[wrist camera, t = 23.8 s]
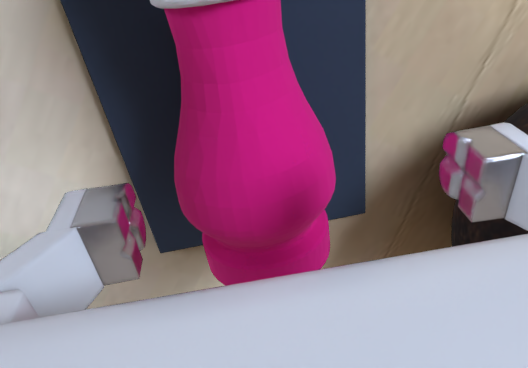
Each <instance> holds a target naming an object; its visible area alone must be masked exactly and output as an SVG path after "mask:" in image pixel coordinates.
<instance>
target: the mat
mask: <svg viewBox="0 0 528 368" xmlns="http://www.w3.org/2000/svg"><path fill="white" fill-rule="evenodd" d="M61 3H62V5H63V8H64V11H65V13H66V16H67V18H68V21H69V23H70V26H71V28H72V31H73V33H74V36H75V38H76V41H77V43H78V46H79V48H80V51H81V53H82V56H83V59H84V61H85V64H86V66H87V69H88V71H89V74H90V76H91V79H92V81H93V84H94V86H95V89H96V91H97V94H98V96H99V99H100V101H101V104H102V107H103V109H104V112H105V114H106V117H107V119H108V122H109V124H110V127H111V129H112V132H113V134H114V137H115V139H116V142H117V144H118V147H119V150H120V152H121V155H122V157H123V160H124V162H125V165H126V167H127V170H128V172H129V175H130V177H131V180H132V182H133V185H134V187H135V190H136V192H137V195H138V198H139V200H140V203H141V205H142V208H143V210H144V213H145V215H146V218H147V220H148V223H149V225H150V228H151V230H152V233H153V235H154V238H155V241H156V243H157V246H158V248H159V251H160V253H164V252H169V251H175V250H180V249H185V248H190V247H195V246H200V245H203V242H202V233H203V232H201V231H200V230H198V229H197V228H196V227H194V226H193V225H192V224H191V223H190V222H189V221H188V219H187V218H186V217H185V215H184V214H183V212H182V210H181V207H180V204H179V201H178V196H177V191H176V187H175V182H174V155H175V148H176V141H177V135H178V128H179V120H180V110H181V75H180V69H179V63H178V57H177V51H176V44H175V41H174V38H173V35H172V32H171V29H170V26H169V23H168V20H167V17H166V14H165V11H164V9H162V8H157V7H155V6H153V5H152V4H151V3H150V0H61ZM281 15H282V28H283V32H284V37H285V42H286V47H287V51H288V56H289V60H290V62H291V65H292V68H293V71H294V73H295V76H296V79H297V82H298V84H299V86H300V88H301V90H302V92H303V94H304V96H305V98H306V100H307V102H308V103H309V105H310V107H311V108H312V110H313V112H314V114H315V115H316V117H317V119H318V121H319V122H320V124H321V126H322V128H323V129H324V132H325V135H326V137H327V140H328V143H329V145H330V148H331V151H332V155H333V161H334V167H335V174H336V183H335V190H334V193H333V195H332V198H331V200H330V201H329V203H328V205H327V207H326V208H325V209H324V210H325V211H326V214H327V217H328V220H332V219H337V218H342V217H348V216H353V215H358V214H363V213H365V0H281Z"/></svg>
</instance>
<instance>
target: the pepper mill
mask: <svg viewBox="0 0 528 368" xmlns="http://www.w3.org/2000/svg"><path fill="white" fill-rule="evenodd" d="M150 3H151V4H152V5H153V6H155V7H157V8H162V9H164V11H165V14H166V17H167V20H168V23H169V26H170V29H171V32H172V35H173V38H174V41H175V44H176V51H177V57H178V63H179V69H180V75H181V110H180V120H179V128H178V135H177V141H176V148H175V155H174V182H175V187H176V191H177V196H178V201H179V204H180V207H181V210H182V212H183V214H184V215H185V217H186V218H187V219H188V221H189V222H190V223H191V224H192V225H193V226H194V227H196V228H197V229H198V230H200V231H201V232H203V233H202V242H203V246H204V249H205V253H206V256H207V260H208V263H209V266H210V269H211V271H212V273H213V275H214V276H215V277H216V278H217V279H218V280H219V281H220V282H221V283H223V284H224V285H225V286H227V285H232V284H238V283H244V282H250V281H256V280H261V279H267V278H273V277H279V276H285V275H291V274H296V273H302V272H308V271H314V270H320V269H321V268H322V266H323V265H324V264H325V262H326V260H327V258H328V256H329V252H330V236H329V224H328V217H327V214H326V211H325V210H324V209H325V208H326V207H327V205H328V203H329V201H330V200H331V198H332V195H333V193H334V190H335V183H336V174H335V167H334V161H333V155H332V151H331V148H330V145H329V143H328V140H327V137H326V135H325V132H324V129H323V128H322V126H321V124H320V122H319V121H318V119H317V117H316V115H315V114H314V112H313V110H312V108H311V107H310V105H309V103H308V102H307V100H306V98H305V96H304V94H303V92H302V90H301V88H300V86H299V84H298V82H297V79H296V76H295V73H294V71H293V68H292V65H291V62H290V60H289V56H288V51H287V47H286V42H285V37H284V32H283V28H282V15H281V0H150Z"/></svg>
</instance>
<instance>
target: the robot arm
mask: <svg viewBox="0 0 528 368" xmlns="http://www.w3.org/2000/svg"><path fill="white" fill-rule="evenodd" d="M442 148H443V150H444V151H445V153H446V154H447V155H446V156H445V157H444V159H443V160H442V161H441V162H440V167H439V178H440V184H441V186H442V188H443V190H444V191H445V193H446V194H447V195H448V196H449V197H452V198H454V199H456V200H459V202H458V208H459V209H460V210H461V211H462V212H463V213H464V214H465V215H466V217H467V218H468V219H469V220H470V221H471V222H478V221H485V220H492V219H499V218H505V219H506V220H507V221H509V222H511V223H513V224H515V225H517V226H519V227H521V228H523V229H525V230H527V231H528V135H527V134H525V133H524V132H522V131H521V130H519V129H518V128H516V127H515V126H513V125H512V124H510V123H505V122H503V123H498V124H493V125H488V126H483V127H477V128H472V129H466V130H461V131H455V132H451V133H447V134H446V136H445V138H444V141H443V147H442ZM135 200H136V196H135V193H134V190H133V188H132V186H131V185H130V184H129V183H124V184H117V185H110V186H103V187H96V188H89V189H87V188H86V189H81V190H75V191H70V192H67V193H65V194H64V196H63V198H62V200H61V202H60V204H59V206H58V208H57V210H56V212H55V214H54V216H53V218H52V220H51V222H50V224H49V226H48V228H47V230H46V232H42V233H38V234H37V235H36V236H34V237H33V238H31V239H30V240H29V241H27V242H26V243H24V244H23V245H21V246H20V247H19V248H17V249H16V250H14V251H13V252H12V253H10V254H9V255H7V256H6V257H5V258H3V259H2V260H0V368H528V234H523V235H518V236H512V237H506V238H500V239H494V240H488V241H483V242H477V243H471V244H465V245H459V246H454V247H448V248H442V249H436V250H430V251H425V252H419V253H413V254H407V255H401V256H395V257H390V258H384V259H378V260H372V261H366V262H361V263H355V264H349V265H343V266H337V267H331V268H326V269H320V270H314V271H308V272H302V273H296V274H291V275H285V276H279V277H273V278H267V279H261V280H256V281H250V282H244V283H238V284H232V285H227V286H221V287H215V288H209V289H203V290H197V291H192V292H186V293H180V294H174V295H168V296H162V297H157V298H151V299H145V300H139V301H133V302H127V303H122V304H116V305H110V306H104V307H98V308H93V309H87V307H88V306H89V305H90V304H91V303H92V301H93V300H94V299H95V298H96V297H97V295H98V294H99V293H100V292H101V291H102V289H103V288H104V285H110V284H115V283H120V282H125V281H130V280H135V279H139V277H140V271H141V266H142V260H143V259H142V256H141V253H140V251H141V250H142V249H143V248H144V247H145V242H146V228H145V223H144V219H143V216H142V213H141V211H140V210H138V209H137V208H136V207H134V204H135ZM86 309H87V310H86Z"/></svg>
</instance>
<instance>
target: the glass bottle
mask: <svg viewBox="0 0 528 368" xmlns="http://www.w3.org/2000/svg"><path fill="white" fill-rule="evenodd" d="M505 123H510V124H512V125H513V126H515V127H516V128H518V129H519V130H521V131H522V132H524V133H525V134H527V135H528V103H527V104H525V105H524V106H522V107H521V108H520V109H518V110H517V111H516V112H515V113H514V114H513V115H511V116H510V117H509V118H508V119H507V120H506V121H505ZM458 202H459V200H456V202H455V206H454V210H453V217H452V233H451V238H452V247H454V246H459V245H465V244H471V243H477V242H483V241H488V240H494V239H500V238H506V237H512V236H518V235H523V234H528V231H527V230H525V229H523V228H521V227H519V226H517V225H515V224H513V223H511V222H509V221H507V220H506V219H505V218H499V219H492V220H485V221H478V222H471V221H470V220H469V219H468V218H467V217H466V215H465V214H464V213H463V212H462V211H461V210H460V209H459V208H458Z"/></svg>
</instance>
